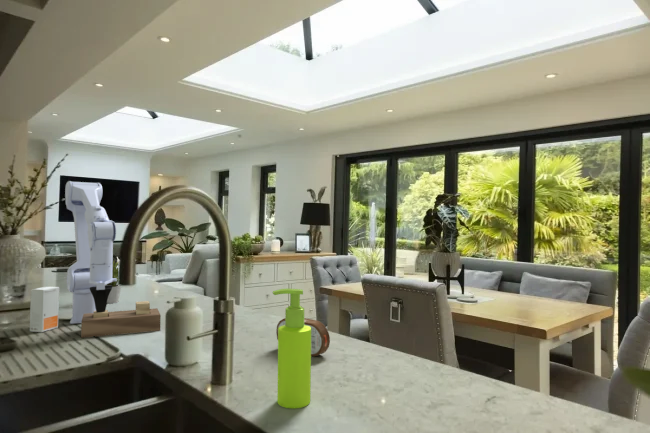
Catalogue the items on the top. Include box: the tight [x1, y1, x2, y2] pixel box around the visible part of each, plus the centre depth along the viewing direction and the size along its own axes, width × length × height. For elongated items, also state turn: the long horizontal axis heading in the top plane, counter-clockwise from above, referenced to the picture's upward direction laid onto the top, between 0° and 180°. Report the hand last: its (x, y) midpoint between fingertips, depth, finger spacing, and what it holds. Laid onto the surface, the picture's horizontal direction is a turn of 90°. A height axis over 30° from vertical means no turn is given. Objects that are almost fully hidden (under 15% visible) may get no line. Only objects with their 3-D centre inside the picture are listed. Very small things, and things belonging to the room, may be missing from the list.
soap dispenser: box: [272, 288, 312, 409], centre depth 79 cm, size 6×7×20 cm
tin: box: [275, 317, 331, 357], centre depth 108 cm, size 15×3×8 cm, turn 55°
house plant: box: [106, 259, 122, 304], centre depth 170 cm, size 14×14×16 cm
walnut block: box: [80, 308, 162, 339], centre depth 128 cm, size 10×20×4 cm, turn 116°
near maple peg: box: [93, 309, 109, 318], centre depth 125 cm, size 4×4×4 cm
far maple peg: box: [135, 300, 151, 315], centre depth 130 cm, size 4×4×4 cm
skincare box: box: [29, 286, 60, 333], centre depth 127 cm, size 6×4×12 cm
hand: (100, 311), depth 125 cm, fingers closed, pressing on near maple peg
